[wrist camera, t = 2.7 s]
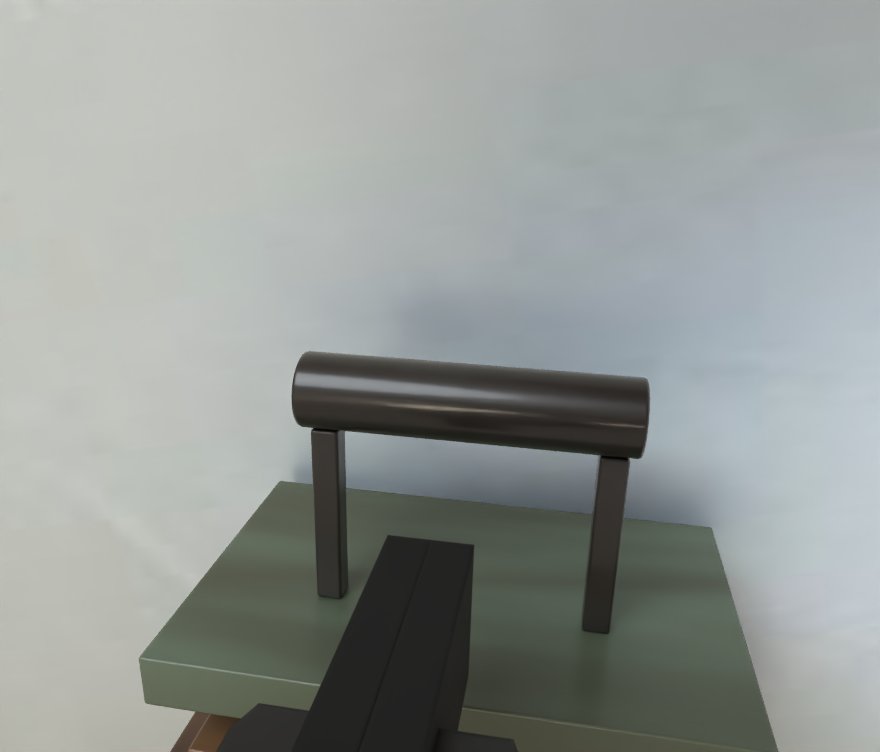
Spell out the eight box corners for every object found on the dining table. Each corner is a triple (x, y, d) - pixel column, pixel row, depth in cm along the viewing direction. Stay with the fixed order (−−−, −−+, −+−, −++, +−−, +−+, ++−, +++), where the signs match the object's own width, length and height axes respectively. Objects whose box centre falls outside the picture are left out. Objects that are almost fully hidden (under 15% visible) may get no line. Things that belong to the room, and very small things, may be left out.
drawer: (268, 289, 21) (99, 392, 13) (745, 322, 19) (848, 461, 12) (299, 834, 28) (199, 1094, 20) (649, 899, 26) (675, 1210, 19)
